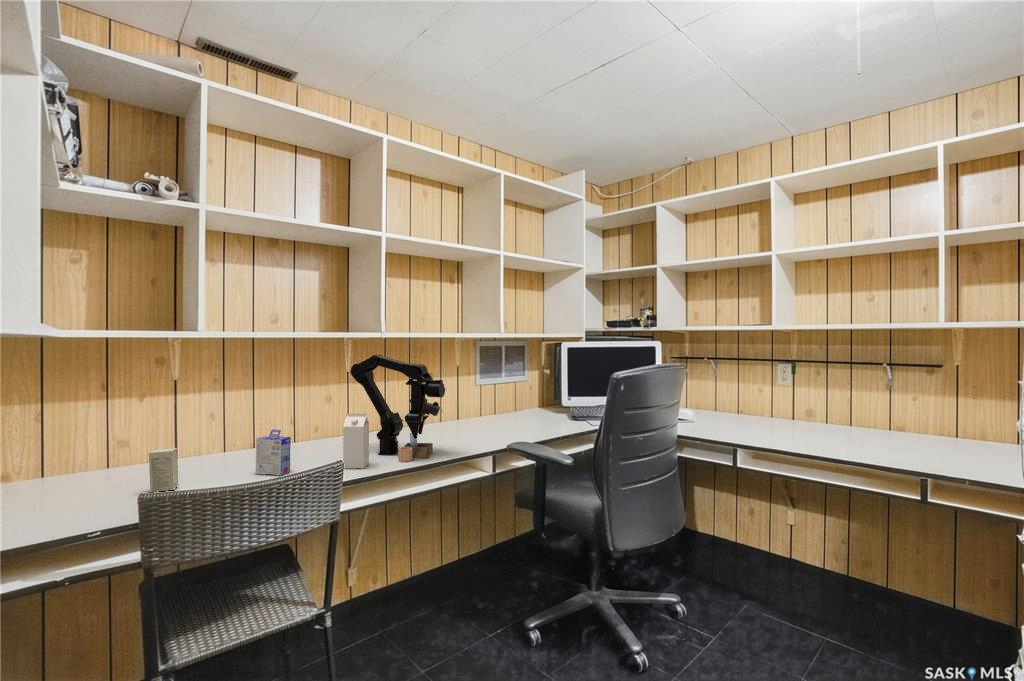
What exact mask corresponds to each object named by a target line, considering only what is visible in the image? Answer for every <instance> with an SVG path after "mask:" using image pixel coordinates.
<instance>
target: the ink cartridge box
mask: <svg viewBox="0 0 1024 681" xmlns="http://www.w3.org/2000/svg"><path fill="white" fill-rule="evenodd" d="M281 432H282V429H271V431H270V432H269V435H266V436H265V435H264V436H261V437H258V438H256V440H255V442H256V444H255V473H256V475H265V474H279V475H278V476H282V475H285V474H289V473H291V440H292V439H291V436H280V435H281Z"/></svg>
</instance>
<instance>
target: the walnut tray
mask: <svg viewBox="0 0 1024 681" xmlns="http://www.w3.org/2000/svg"><path fill="white" fill-rule="evenodd" d="M403 447H411V442H407V443H406V444H405V445H404V446H403ZM412 448H413V457H415V458H414V459H417V458H416V457H419V458H418V459H429V458H430V457H431V456H432V454H433V442H417V447H412ZM430 455H431V456H430ZM429 456H430V457H429ZM421 457H422V458H421Z"/></svg>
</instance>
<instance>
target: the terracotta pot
mask: <svg viewBox="0 0 1024 681" xmlns="http://www.w3.org/2000/svg"><path fill="white" fill-rule="evenodd" d="M397 459H398V460H399V461H402V462H401V463H407V462H406V461H410V462H412V461H413V459H414V458H413V448H412V447H404V446H400V447H398V452H397ZM411 460H412V461H411ZM399 461H398V462H399Z"/></svg>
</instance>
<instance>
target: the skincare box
mask: <svg viewBox="0 0 1024 681" xmlns="http://www.w3.org/2000/svg"><path fill="white" fill-rule="evenodd" d="M178 461H179V460H178V448H177V447H174V448H173V447H172V448H160V449H153V450H151V451H150V452H148V463H149V464H148V466H149V467H148V468H149V469H148V470H149V493H150V492H155V493H158V492H157V491H165V492H169V491H168V490H174V491H175V490H176V489H177V488H178V487H179V470H178V468H179V466H178V464H179V463H178ZM177 486H178V487H177ZM176 487H177V488H176ZM174 488H176V489H174Z"/></svg>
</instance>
